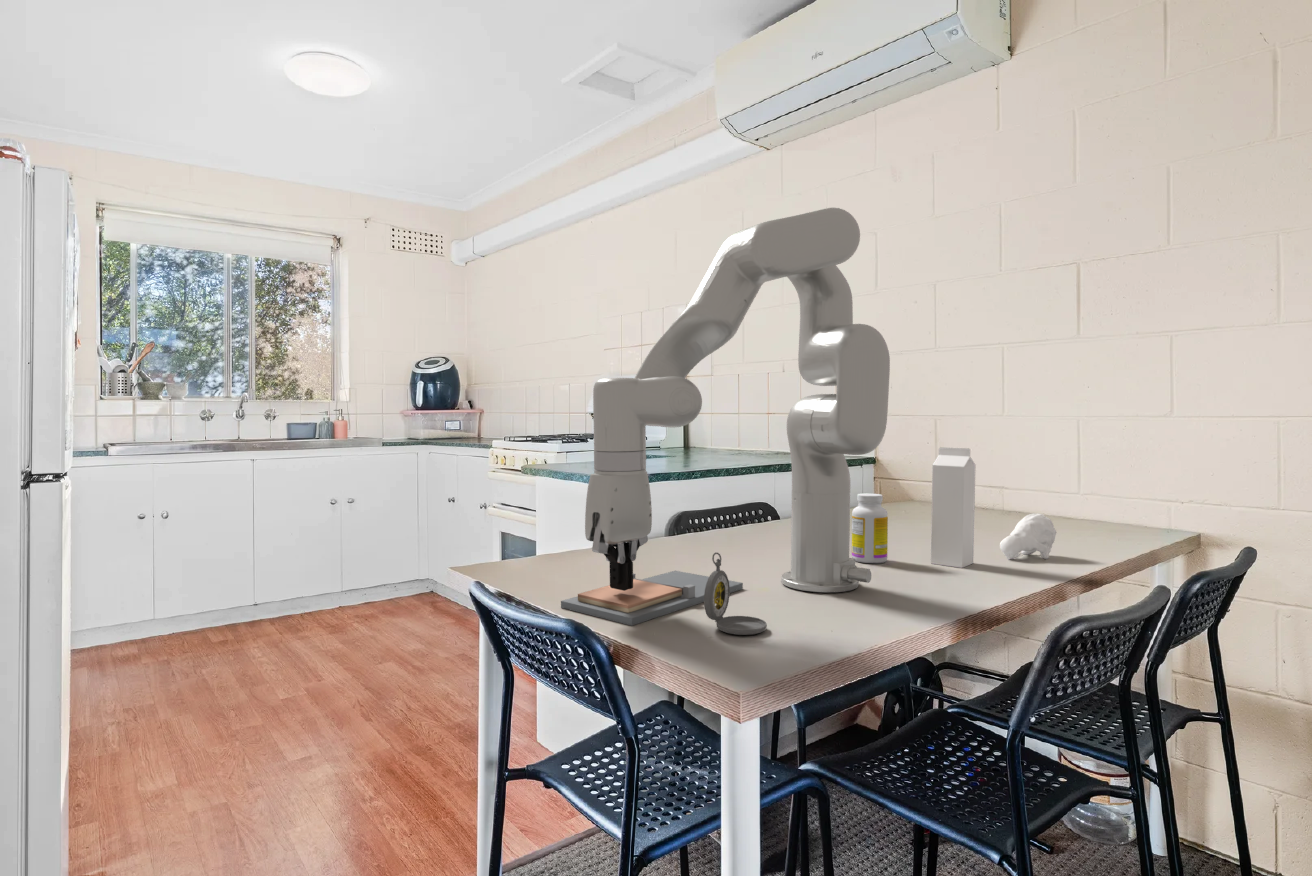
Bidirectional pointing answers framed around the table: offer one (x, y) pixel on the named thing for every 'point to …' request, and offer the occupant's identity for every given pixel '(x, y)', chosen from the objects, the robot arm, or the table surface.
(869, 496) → the supplement bottle
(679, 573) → the board
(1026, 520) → the white animal figurine
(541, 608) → the table surface
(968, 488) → the milk
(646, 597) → the tile
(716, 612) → the pocket watch
